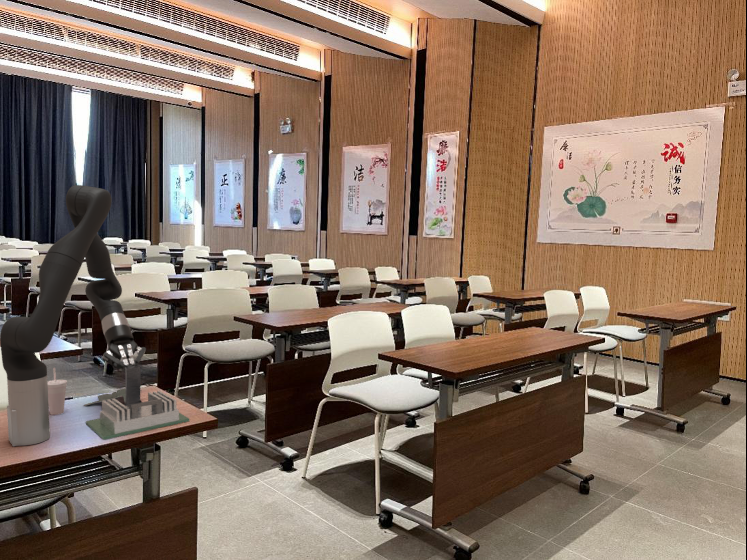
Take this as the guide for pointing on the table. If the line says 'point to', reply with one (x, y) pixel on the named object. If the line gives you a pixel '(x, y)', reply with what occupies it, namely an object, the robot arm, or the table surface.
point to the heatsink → (136, 416)
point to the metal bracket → (110, 396)
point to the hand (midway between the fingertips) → (132, 377)
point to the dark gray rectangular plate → (132, 385)
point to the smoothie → (56, 395)
